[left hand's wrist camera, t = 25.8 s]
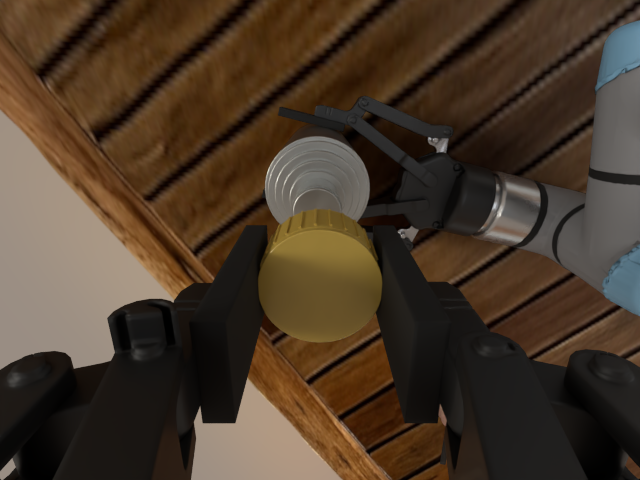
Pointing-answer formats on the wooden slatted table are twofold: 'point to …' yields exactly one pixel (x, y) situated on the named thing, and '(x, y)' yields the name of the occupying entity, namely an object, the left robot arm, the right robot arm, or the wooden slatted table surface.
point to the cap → (320, 276)
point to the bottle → (317, 175)
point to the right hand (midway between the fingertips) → (272, 152)
